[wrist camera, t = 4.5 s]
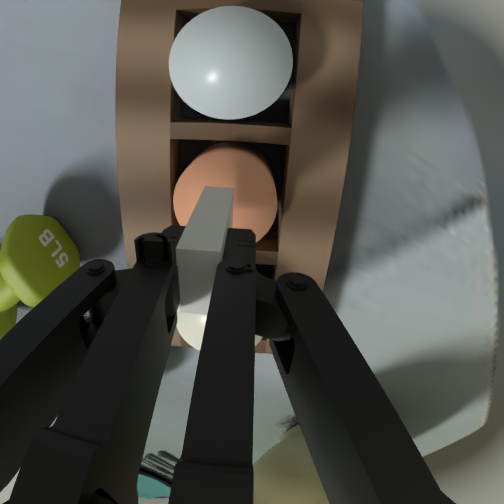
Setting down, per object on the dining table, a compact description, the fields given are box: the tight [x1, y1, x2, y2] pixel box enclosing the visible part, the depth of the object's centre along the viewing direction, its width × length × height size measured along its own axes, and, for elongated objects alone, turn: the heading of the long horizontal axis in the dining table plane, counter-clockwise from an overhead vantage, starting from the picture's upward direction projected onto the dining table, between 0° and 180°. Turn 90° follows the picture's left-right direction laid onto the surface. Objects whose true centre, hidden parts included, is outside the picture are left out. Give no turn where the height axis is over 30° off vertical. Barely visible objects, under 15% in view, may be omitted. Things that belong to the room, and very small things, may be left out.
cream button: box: [176, 305, 262, 351], centre depth 23 cm, size 6×6×4 cm
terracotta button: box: [173, 141, 277, 242], centre depth 20 cm, size 6×6×4 cm
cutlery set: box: [137, 452, 178, 499], centre depth 49 cm, size 20×30×2 cm, turn 126°
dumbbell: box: [0, 215, 80, 339], centre depth 23 cm, size 16×8×7 cm, turn 119°
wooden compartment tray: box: [116, 0, 363, 354], centre depth 21 cm, size 26×14×3 cm, turn 176°
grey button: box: [169, 6, 293, 120], centre depth 15 cm, size 6×6×4 cm
